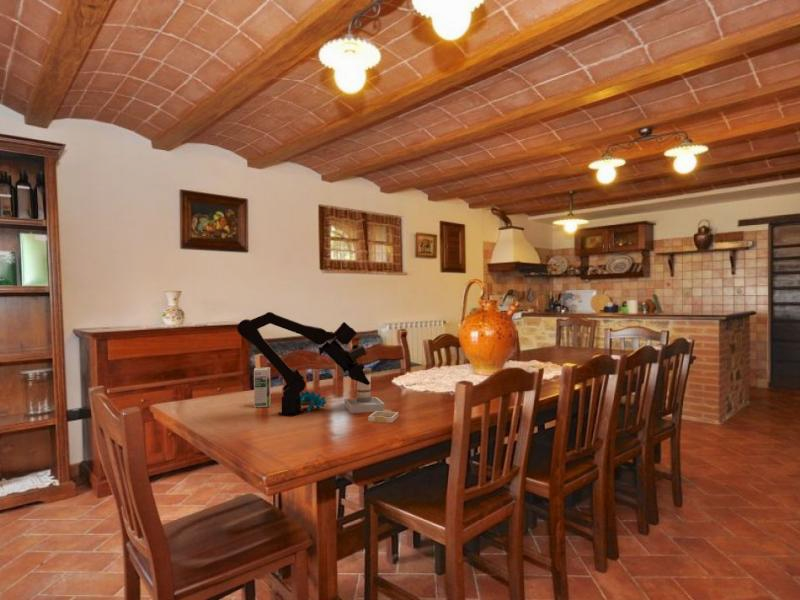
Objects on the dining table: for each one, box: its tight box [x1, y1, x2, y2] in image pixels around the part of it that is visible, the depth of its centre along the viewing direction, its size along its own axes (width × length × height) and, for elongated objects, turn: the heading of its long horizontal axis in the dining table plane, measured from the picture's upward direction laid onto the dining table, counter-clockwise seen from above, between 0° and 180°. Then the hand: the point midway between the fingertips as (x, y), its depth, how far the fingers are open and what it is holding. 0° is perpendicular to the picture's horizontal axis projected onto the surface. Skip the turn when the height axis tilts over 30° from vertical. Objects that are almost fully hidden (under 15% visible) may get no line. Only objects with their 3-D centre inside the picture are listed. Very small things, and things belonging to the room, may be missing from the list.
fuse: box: [356, 366, 372, 402], centre depth 174 cm, size 5×5×12 cm
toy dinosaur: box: [300, 390, 327, 413], centre depth 171 cm, size 11×6×10 cm
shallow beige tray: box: [367, 409, 399, 424], centre depth 158 cm, size 8×10×2 cm
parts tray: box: [343, 396, 386, 414], centre depth 174 cm, size 13×13×2 cm
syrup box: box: [253, 366, 271, 409], centre depth 179 cm, size 6×6×14 cm
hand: (367, 382), depth 174 cm, fingers closed on fuse, 5 cm apart
